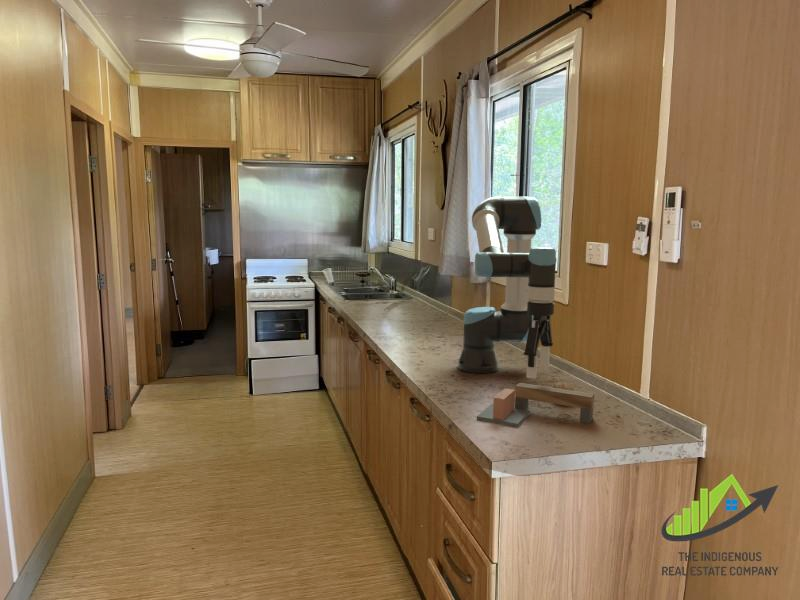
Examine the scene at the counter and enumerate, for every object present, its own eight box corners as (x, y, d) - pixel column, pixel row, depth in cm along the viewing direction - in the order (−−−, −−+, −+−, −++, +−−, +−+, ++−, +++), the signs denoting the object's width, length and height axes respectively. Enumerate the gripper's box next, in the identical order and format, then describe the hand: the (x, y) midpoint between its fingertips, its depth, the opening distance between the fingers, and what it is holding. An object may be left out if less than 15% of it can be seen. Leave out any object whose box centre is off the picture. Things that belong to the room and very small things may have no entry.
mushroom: (542, 390, 179) (555, 375, 177) (554, 394, 184) (567, 380, 183) (559, 408, 173) (572, 393, 172) (570, 412, 179) (584, 397, 177)
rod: (518, 394, 172) (519, 382, 172) (593, 405, 162) (594, 393, 161) (515, 397, 169) (515, 385, 169) (591, 409, 159) (591, 397, 158)
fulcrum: (491, 407, 172) (491, 385, 171) (530, 414, 166) (530, 391, 165) (476, 419, 162) (477, 396, 161) (517, 427, 156) (518, 402, 155)
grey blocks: (519, 406, 173) (520, 393, 173) (592, 418, 163) (593, 405, 162) (514, 410, 169) (515, 398, 169) (589, 423, 159) (590, 410, 158)
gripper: (539, 295, 176) (537, 361, 179) (514, 305, 155) (512, 380, 157) (564, 297, 173) (561, 364, 175) (542, 307, 151) (539, 384, 154)
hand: (538, 372), depth 166 cm, fingers open, 13 cm apart
